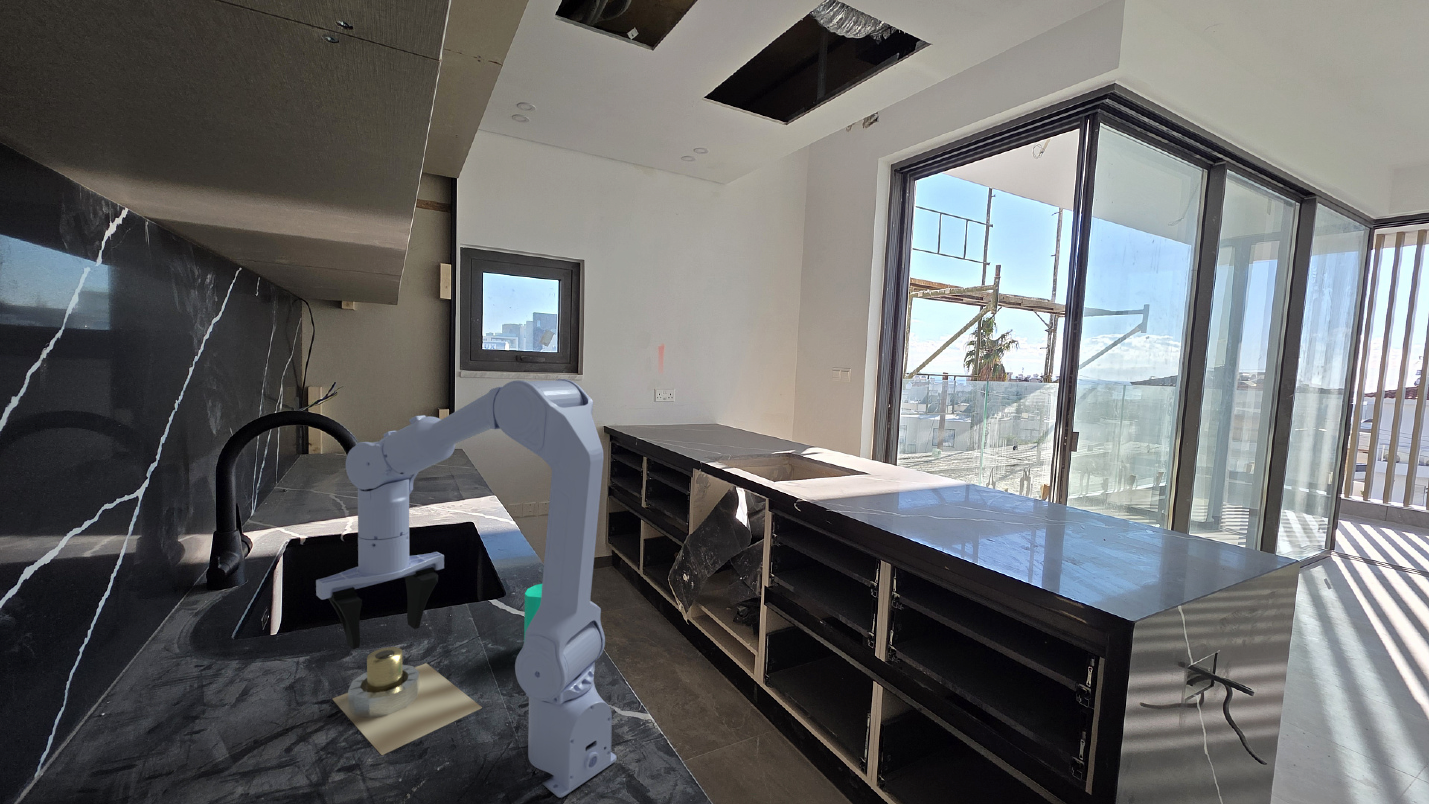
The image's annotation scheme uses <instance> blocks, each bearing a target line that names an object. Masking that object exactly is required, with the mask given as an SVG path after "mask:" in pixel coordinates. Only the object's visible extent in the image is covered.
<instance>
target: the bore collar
mask: <svg viewBox="0 0 1429 804" xmlns="http://www.w3.org/2000/svg"><path fill="white" fill-rule="evenodd" d="M347 693H348V709H349V710H350V711H351V712H352V714H353V715H354V716H359V717H365V718H373V717H379V716H385V715H390V714H392V713H394V712H397V711H399V710H402V709H404V708H406V707H407V706H409V705H410V704H411V703H412V702H413V701H414V700H416V699H417V697H418V693H419V671H418V670H417V669H415V667H414V666H413V665H406V664H402V685H400V686H399V687H396V688H394V689H391V690H389V691H384V692H378V693H371V692H367V671H366V672H363V673H362V674H361V675H359V676H358V677H356V678H355V679H353V680H352V681H351V683H350V685H349V688H348V691H347Z"/></svg>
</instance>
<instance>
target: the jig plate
mask: <svg viewBox="0 0 1429 804" xmlns="http://www.w3.org/2000/svg"><path fill="white" fill-rule="evenodd" d="M414 668H415V669H417V670H418V671H419V693H418V697H417V699H416V700H414V701H413V702H412V703H411V704H410V705H409V706H407V707H406V708H404V709H402V710H399V711H397V712H394V713H392V714H390V715H385V716H379V717H373V718H365V717H359V716H354V715H353V714H352V712H351V711H350V710H349V709H348V692H346V693H344V694H341V695H338V696H336V697H333V698H332V701H333V702H334V704H336V705H337V706H338V708H339V709H340V710H341V711H342V713H344V714H345V716H346V717H347V718H348V719H349V720H350V722H352V723H353V725H354V726H355V727H356V728H357V730H358V731H359V732H360V733H361V734H362V735H363V736H364V738H365V739H366V740H367V741H368V742H369V743H370V744H371V745H372V747H374V748H375V749H374V750H376V751H377V752H378V753H379V754H380V755H381V756H384V755H387V754H388V753H390V752H392V751H395V750H397V749H398V748H400V747H404V746H406V745H407V744H410V743H411V742H414V741H416V740H418V739H420V738H422V737H424V736H426V735H428V734H431V733H434V731H437V730H438V729H441V728H443V727H445V726H447V725H450V724H452V723H453V722H455V721H458V720H460V719H462V718H464V717H467V716H469V715H471V714H473V713H475V712H477V711H479V710H481V709H483V707H482V706H481V705H480V704H479V703H477V702H476V701H475V700H473V699H472V698H471V697H469V696H468V695H467V694H466V693H465V692H463V691H462V690H461V689H460V688H458V687H457V686H456V685H454V684H453V683H452V682H451V681H449V679H447V678H446V677H444V676H443V675H442V674H440V672H438V671H437V670H436V669H435V668H433V667H432V666H430V665H429V664H428V663H427V662H426V663H424V664H420V665H417V666H415V667H414Z"/></svg>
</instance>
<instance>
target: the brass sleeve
mask: <svg viewBox="0 0 1429 804" xmlns="http://www.w3.org/2000/svg"><path fill="white" fill-rule="evenodd" d="M402 665H403V649H402V648H400V647H395V646H390V647H389V646H388V647H382V648H378V649H376V650H373V651H372V652H371V653H369V654H368V655H367V658H366V672H367V692H371V693H378V692H384V691H389V690H391V689H394V688H396V687H399V686H400V685H402Z"/></svg>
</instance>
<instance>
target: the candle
mask: <svg viewBox="0 0 1429 804" xmlns="http://www.w3.org/2000/svg"><path fill="white" fill-rule="evenodd" d="M541 594H542V583H538V584H535V585H533V586H531V587H528V588H527V589H526V591H525V592H524V621H523V622H524V625H523V626H524V628H523V629H524V631H523V637H524V638H523V643H524V642H525V633H526V630H527V628H528V626H529V624H530V623H531V621H532V619H533V617H534V616H535V614H536V612H537V611H538V609H539V607H540V604H541Z"/></svg>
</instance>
